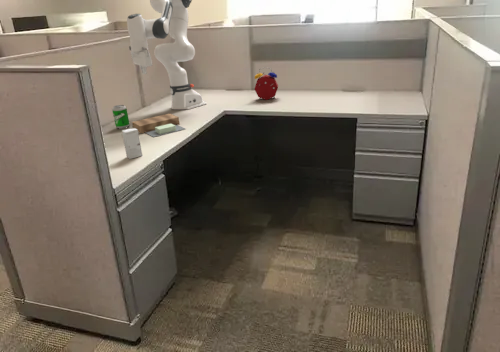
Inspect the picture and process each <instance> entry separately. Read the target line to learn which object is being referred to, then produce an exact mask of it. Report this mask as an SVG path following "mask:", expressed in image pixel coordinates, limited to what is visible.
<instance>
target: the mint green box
mask: <svg viewBox="0 0 500 352" xmlns="http://www.w3.org/2000/svg"><path fill="white" fill-rule="evenodd" d="M175 130H176V126H175V125H173V124H167V125H162V126H158V127H155V131H156V132H157V133H159V134H163V133H167V132H171V131H175Z"/></svg>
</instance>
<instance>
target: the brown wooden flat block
mask: <svg viewBox="0 0 500 352" xmlns="http://www.w3.org/2000/svg"><path fill="white" fill-rule="evenodd" d="M131 123H132V128H136V129H137V130H138V133H139V132H140V133H139V134H141V133H142V134H145V133H144V132H149V131H153V130H155V127H158V126H162V125H167V124H173V125H179V126H180V124H181V123H180V117H179V116H177V115H174V114H172V113H165V114H161V115H156V116H152V117H148V118H144V119H139V120H134V121H131Z"/></svg>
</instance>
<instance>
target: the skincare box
mask: <svg viewBox="0 0 500 352" xmlns="http://www.w3.org/2000/svg"><path fill="white" fill-rule="evenodd" d="M139 134H140V133H139V132H138V130H137V129H136V128H133V127H132V128H128V129H127V128H126V129H122V130H121V135H122V139H123V145H124V149H125V154H126V157H127V158H128V159H129V160H132V159H135V158H138V157H142V156H143V151H142V146H141V140H140V135H139Z"/></svg>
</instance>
